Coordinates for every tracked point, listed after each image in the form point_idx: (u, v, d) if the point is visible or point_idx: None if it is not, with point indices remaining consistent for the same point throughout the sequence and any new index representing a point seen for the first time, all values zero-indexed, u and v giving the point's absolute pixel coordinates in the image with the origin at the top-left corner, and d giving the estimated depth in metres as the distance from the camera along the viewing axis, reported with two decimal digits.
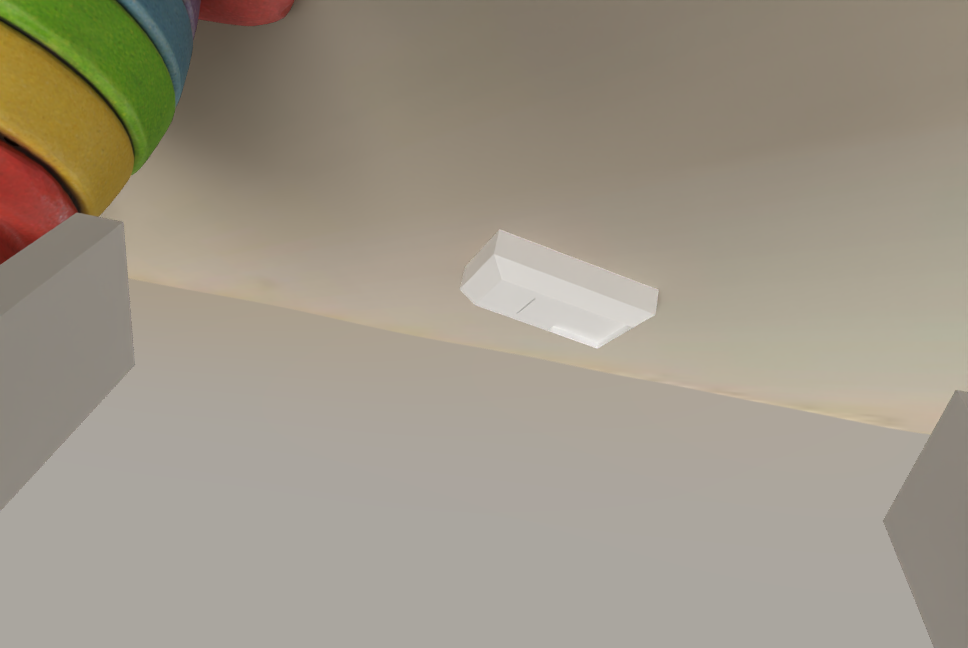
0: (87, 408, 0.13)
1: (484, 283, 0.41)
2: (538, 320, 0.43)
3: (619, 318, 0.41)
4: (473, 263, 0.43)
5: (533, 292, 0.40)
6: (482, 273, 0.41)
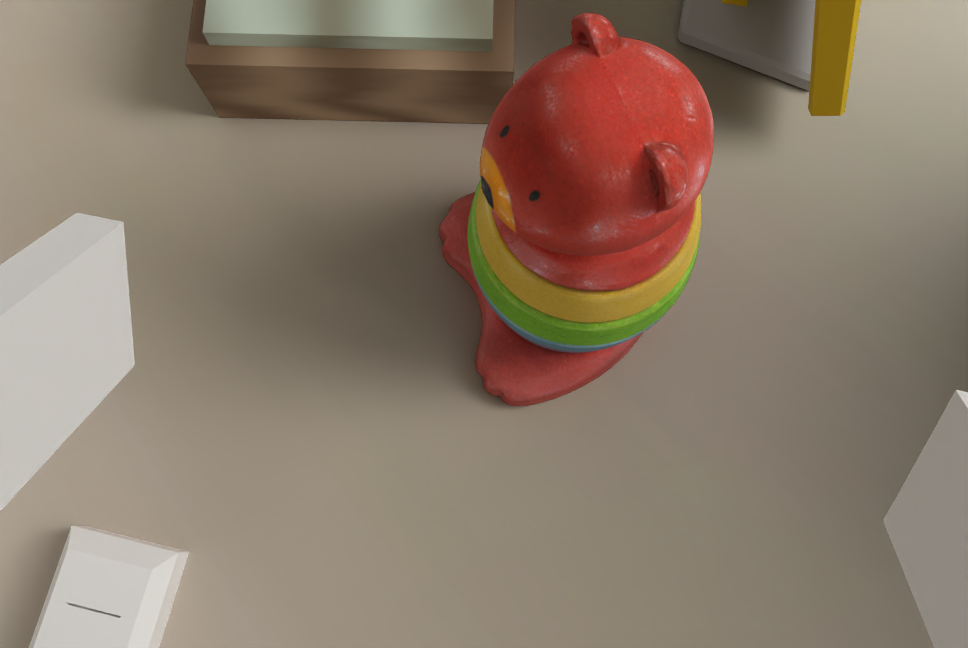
0: (87, 408, 0.13)
1: (120, 553, 0.35)
2: (59, 634, 0.34)
3: None
4: (114, 534, 0.37)
5: (135, 611, 0.34)
6: (133, 546, 0.36)
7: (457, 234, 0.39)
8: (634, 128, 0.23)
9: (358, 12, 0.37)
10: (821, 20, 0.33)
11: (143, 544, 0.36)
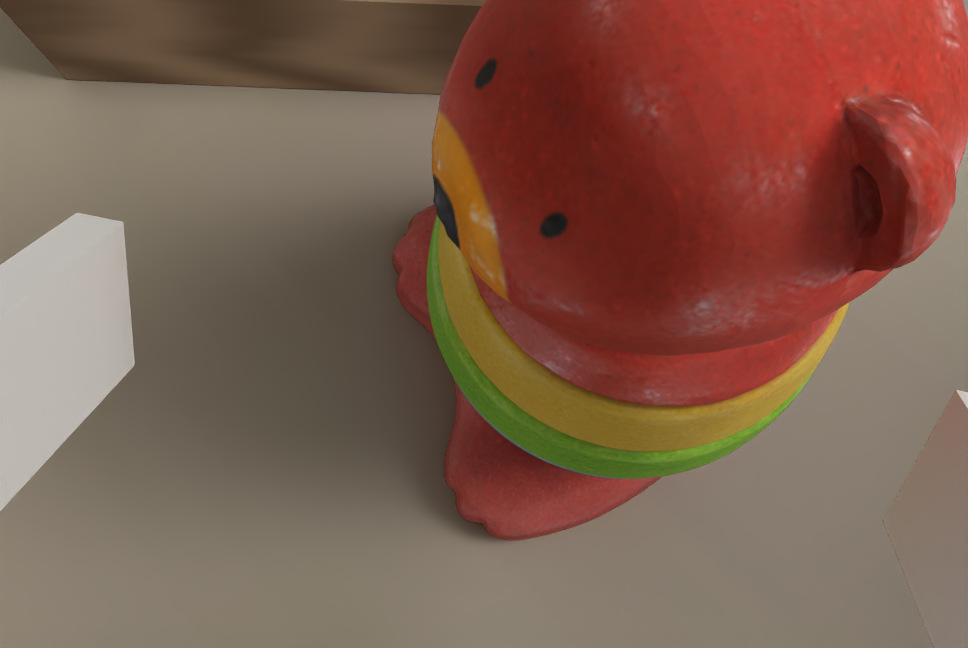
0: (87, 408, 0.13)
1: None
2: None
3: None
4: None
5: None
6: None
7: (419, 266, 0.25)
8: (820, 57, 0.09)
9: None
10: None
11: None
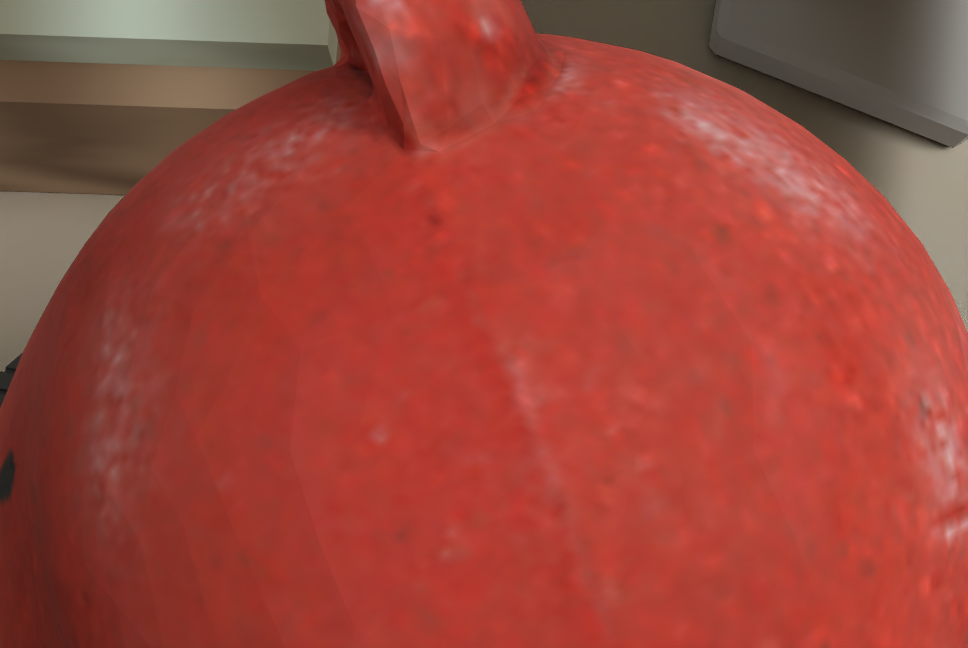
0: None
1: None
2: None
3: None
4: None
5: None
6: None
7: None
8: None
9: None
10: None
11: None
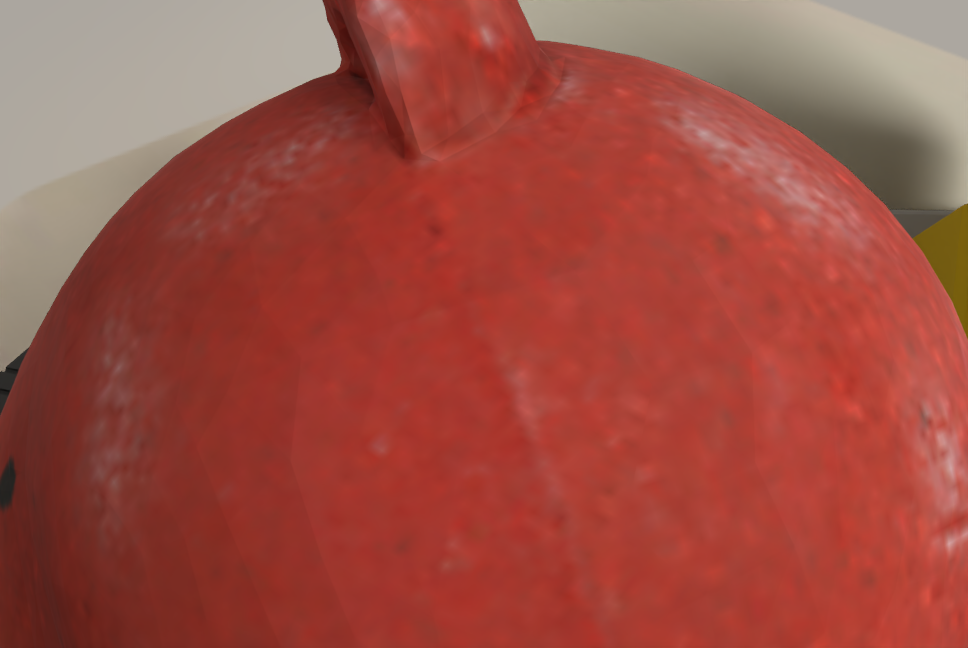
0: None
1: None
2: None
3: None
4: None
5: None
6: None
7: None
8: None
9: None
10: None
11: None
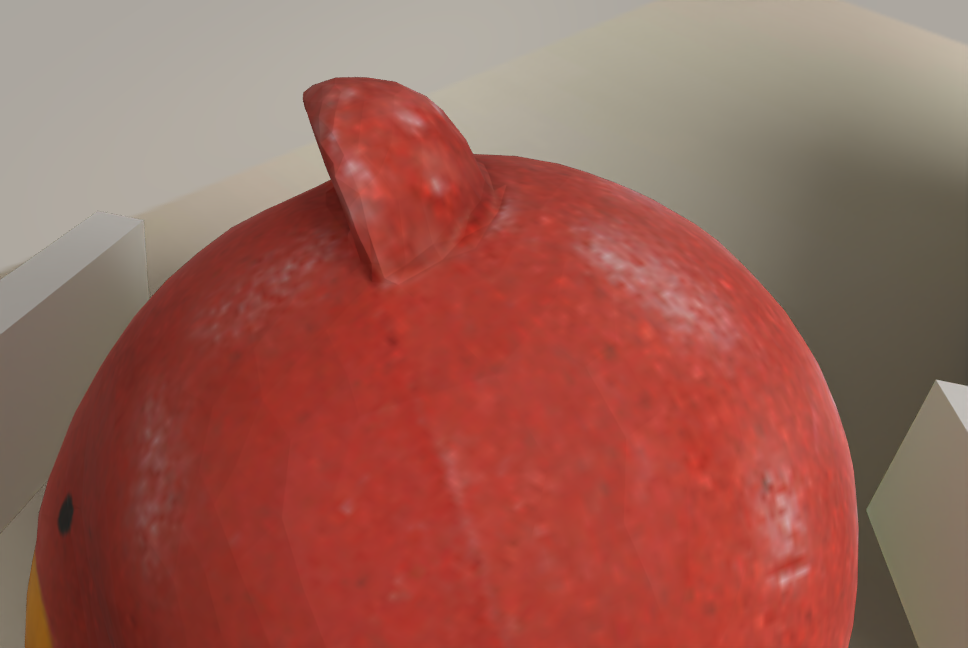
0: None
1: None
2: None
3: None
4: None
5: None
6: None
7: None
8: None
9: None
10: None
11: None
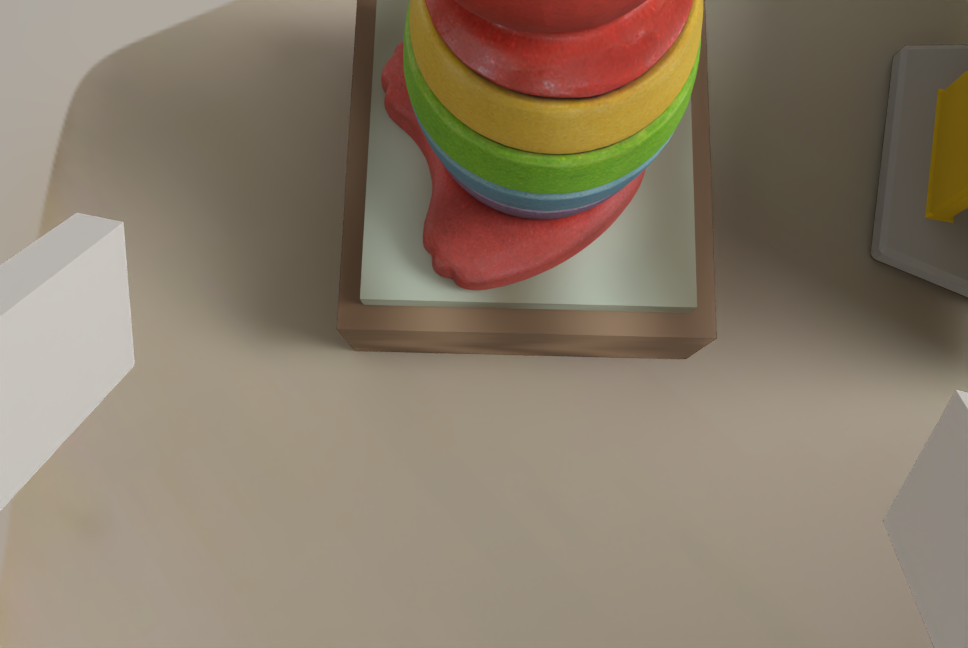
0: (87, 408, 0.13)
1: None
2: None
3: None
4: None
5: None
6: None
7: (401, 80, 0.32)
8: None
9: None
10: None
11: None
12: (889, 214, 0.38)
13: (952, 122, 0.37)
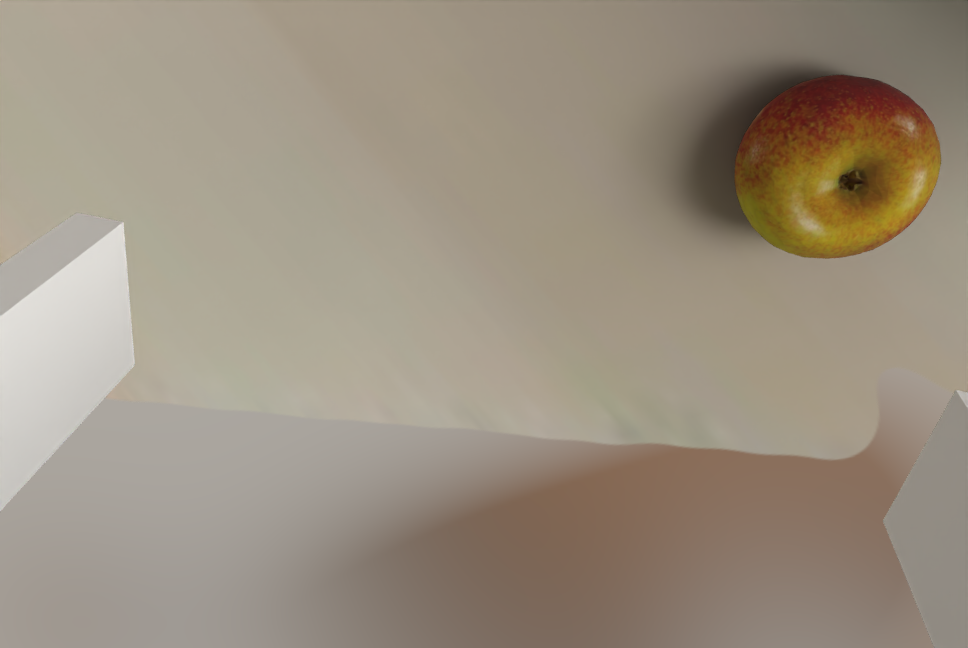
0: (87, 408, 0.13)
1: None
2: None
3: None
4: None
5: None
6: None
7: None
8: None
9: None
10: None
11: None
12: None
13: None
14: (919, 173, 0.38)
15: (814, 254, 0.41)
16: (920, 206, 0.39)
